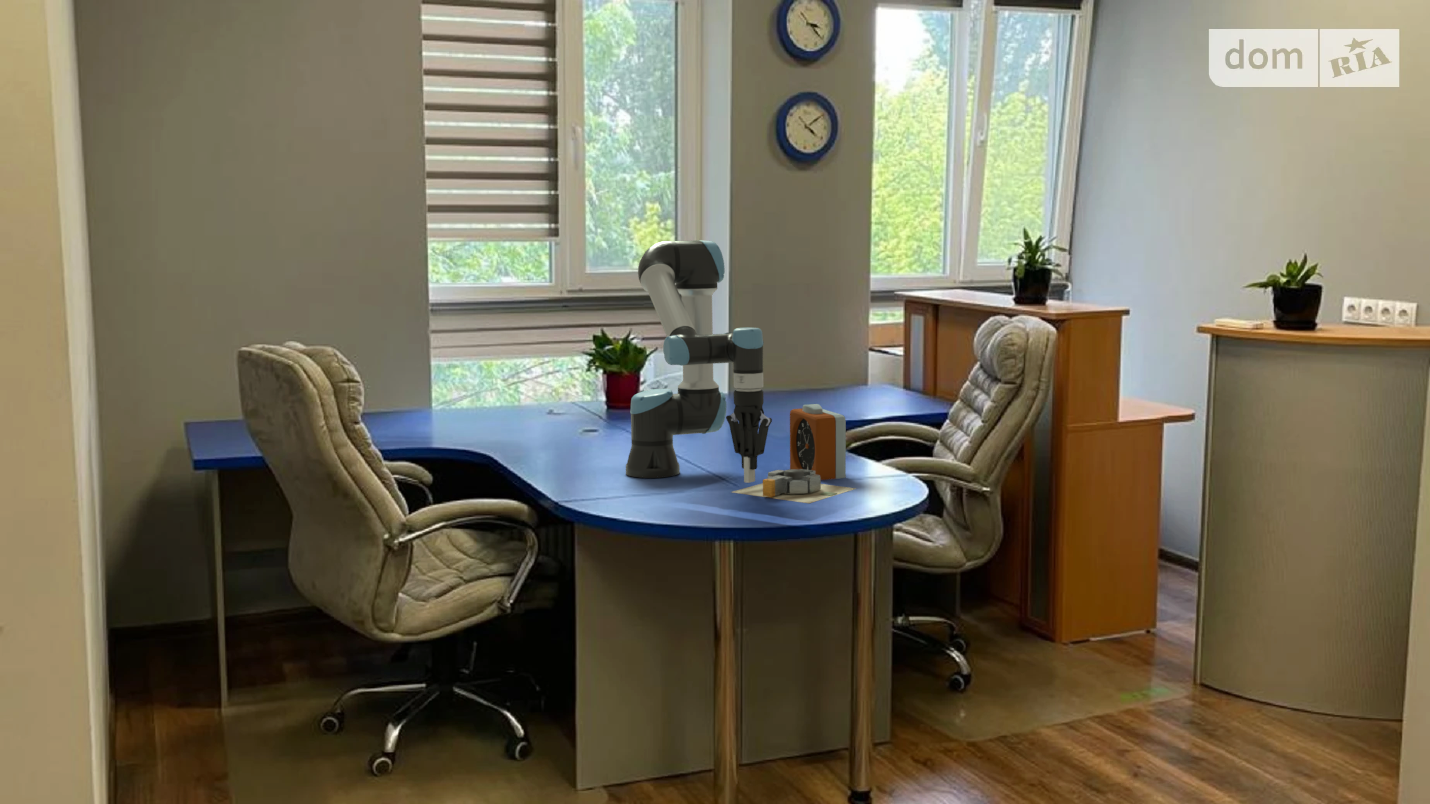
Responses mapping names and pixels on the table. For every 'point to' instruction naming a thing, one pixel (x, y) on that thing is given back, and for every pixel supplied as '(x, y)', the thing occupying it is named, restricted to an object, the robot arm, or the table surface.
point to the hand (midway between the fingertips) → (749, 481)
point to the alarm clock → (818, 441)
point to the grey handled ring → (790, 483)
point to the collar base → (799, 497)
